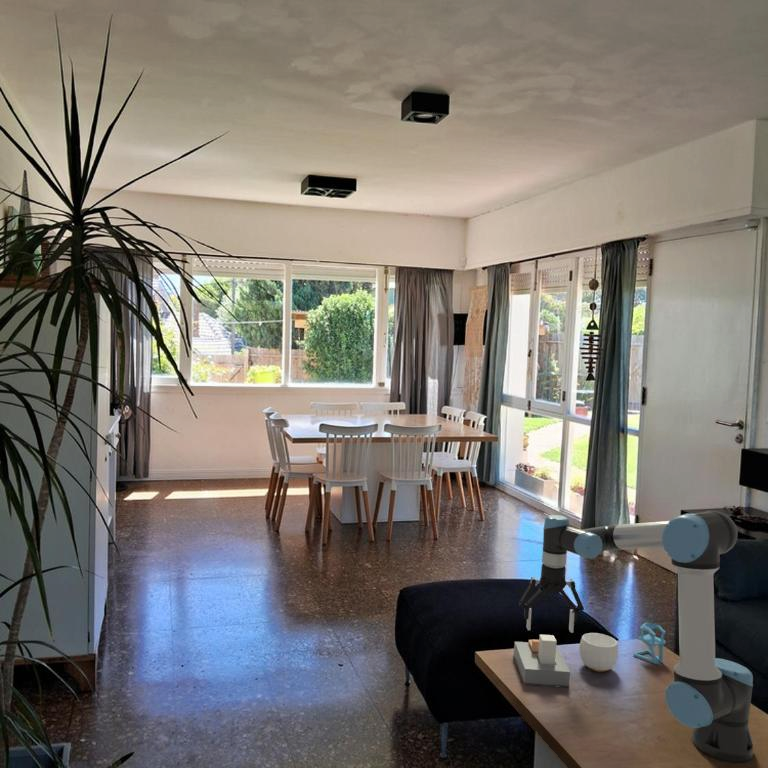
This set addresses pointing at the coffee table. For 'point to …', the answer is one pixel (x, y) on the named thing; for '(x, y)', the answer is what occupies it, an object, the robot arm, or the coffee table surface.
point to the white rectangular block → (547, 649)
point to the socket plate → (540, 667)
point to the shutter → (534, 645)
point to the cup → (598, 651)
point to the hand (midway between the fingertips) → (549, 630)
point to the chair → (651, 643)
